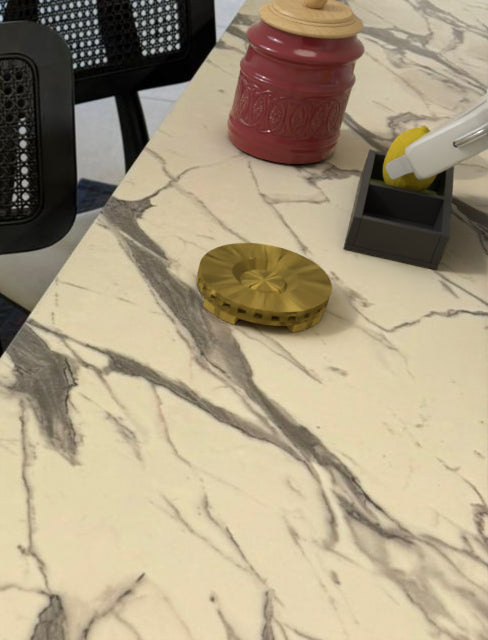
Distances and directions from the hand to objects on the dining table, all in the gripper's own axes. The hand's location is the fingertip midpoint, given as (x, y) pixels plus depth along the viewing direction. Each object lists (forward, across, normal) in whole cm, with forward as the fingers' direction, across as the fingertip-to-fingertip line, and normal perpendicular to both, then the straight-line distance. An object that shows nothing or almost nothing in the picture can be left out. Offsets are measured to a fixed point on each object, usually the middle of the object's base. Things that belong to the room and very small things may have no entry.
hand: (407, 159), depth 107 cm
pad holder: (+2, -4, -5) cm, 7 cm away
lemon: (+3, 0, -4) cm, 4 cm away
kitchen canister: (+15, +4, +8) cm, 18 cm away
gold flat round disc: (+4, -28, -4) cm, 28 cm away
